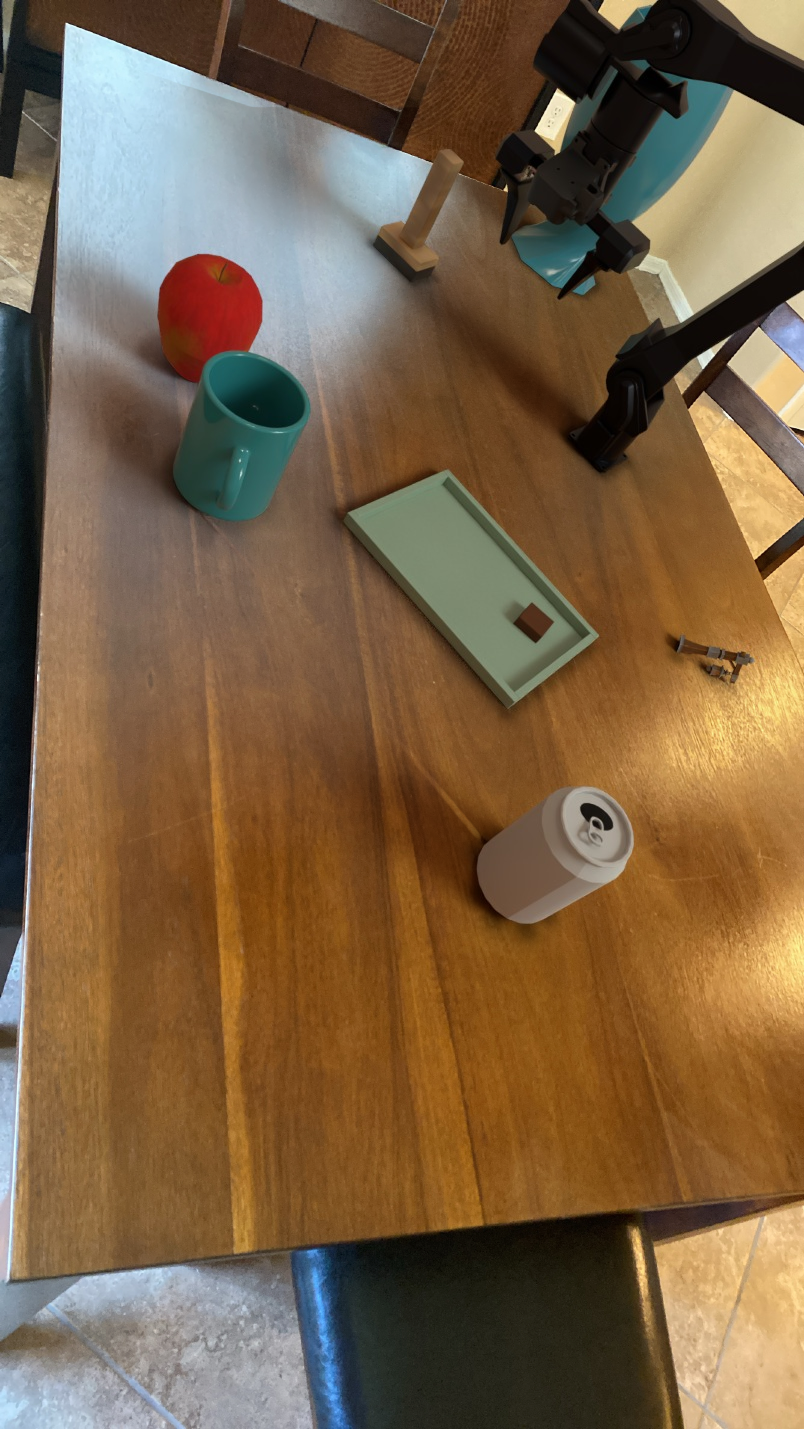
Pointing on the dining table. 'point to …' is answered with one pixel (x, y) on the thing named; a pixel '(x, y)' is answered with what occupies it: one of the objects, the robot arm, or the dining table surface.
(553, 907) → the can
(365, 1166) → the dining table surface
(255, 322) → the apple
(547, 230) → the vase
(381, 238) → the brush
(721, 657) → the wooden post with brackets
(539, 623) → the crumb
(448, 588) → the tray
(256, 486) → the cup
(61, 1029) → the dining table surface
